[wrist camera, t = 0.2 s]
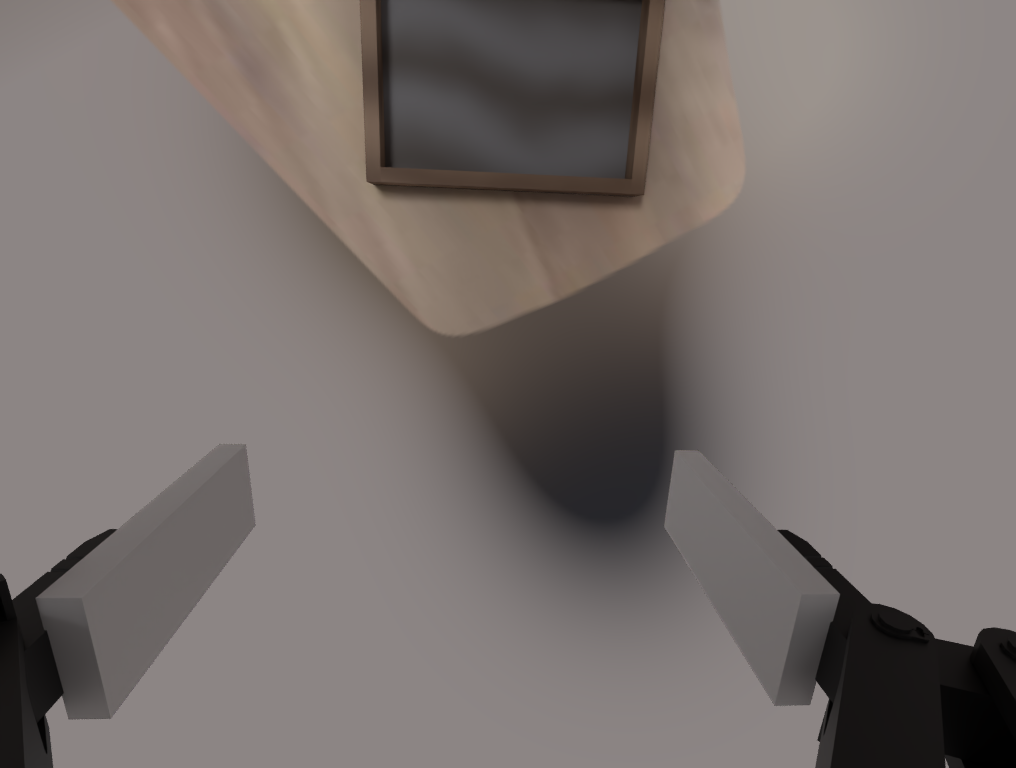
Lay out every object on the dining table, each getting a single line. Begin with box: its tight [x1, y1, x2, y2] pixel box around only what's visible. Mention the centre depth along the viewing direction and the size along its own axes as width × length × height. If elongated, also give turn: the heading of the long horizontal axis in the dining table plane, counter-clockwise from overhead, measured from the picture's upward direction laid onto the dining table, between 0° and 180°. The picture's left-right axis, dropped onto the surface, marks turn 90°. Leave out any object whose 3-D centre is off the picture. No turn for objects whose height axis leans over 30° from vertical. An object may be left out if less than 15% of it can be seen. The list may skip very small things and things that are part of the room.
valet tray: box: [360, 0, 665, 197], centre depth 36 cm, size 14×20×3 cm
